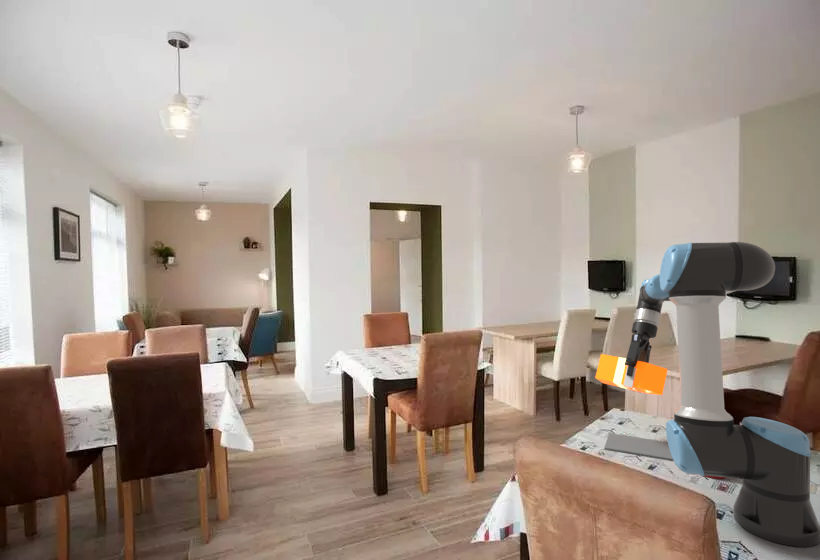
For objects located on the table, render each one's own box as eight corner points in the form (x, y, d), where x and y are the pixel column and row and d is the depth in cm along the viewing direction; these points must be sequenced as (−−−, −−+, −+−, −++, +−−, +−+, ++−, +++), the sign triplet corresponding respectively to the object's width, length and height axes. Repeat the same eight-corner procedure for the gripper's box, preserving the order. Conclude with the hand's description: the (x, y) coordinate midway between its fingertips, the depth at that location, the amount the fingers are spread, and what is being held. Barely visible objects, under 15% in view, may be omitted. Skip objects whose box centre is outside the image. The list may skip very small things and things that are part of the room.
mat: (680, 462, 133) (680, 460, 133) (604, 449, 144) (604, 447, 144) (679, 445, 145) (679, 443, 145) (609, 434, 156) (609, 433, 156)
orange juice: (608, 359, 160) (670, 371, 146) (602, 383, 158) (665, 398, 144) (600, 353, 155) (664, 365, 141) (594, 377, 153) (658, 392, 139)
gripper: (642, 331, 162) (630, 392, 157) (624, 313, 148) (609, 379, 143) (665, 334, 157) (653, 398, 152) (648, 316, 143) (634, 385, 138)
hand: (632, 389), depth 148 cm, fingers closed on orange juice, 8 cm apart
